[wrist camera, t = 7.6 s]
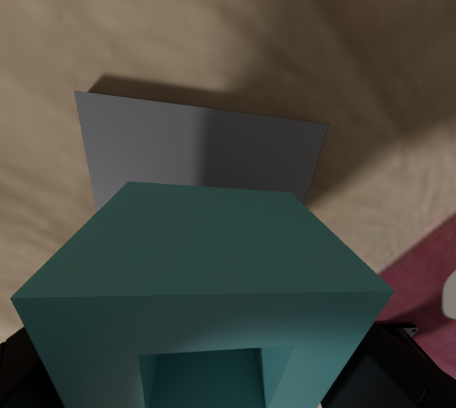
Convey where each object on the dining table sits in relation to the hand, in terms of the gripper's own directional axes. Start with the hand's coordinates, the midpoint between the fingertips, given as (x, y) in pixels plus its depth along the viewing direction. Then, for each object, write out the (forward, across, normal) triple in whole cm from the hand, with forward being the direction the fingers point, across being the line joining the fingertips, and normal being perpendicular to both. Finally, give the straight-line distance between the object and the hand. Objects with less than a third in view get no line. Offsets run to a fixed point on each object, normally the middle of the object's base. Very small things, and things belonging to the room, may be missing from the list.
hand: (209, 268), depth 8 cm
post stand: (+5, 0, 0) cm, 5 cm away
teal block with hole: (+1, 0, 0) cm, 1 cm away
